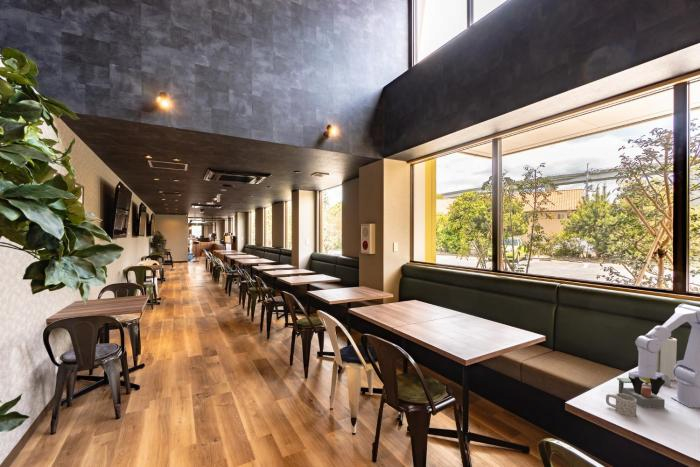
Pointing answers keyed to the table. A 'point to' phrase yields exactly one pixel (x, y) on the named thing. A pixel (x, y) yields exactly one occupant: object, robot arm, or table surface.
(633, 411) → the mug
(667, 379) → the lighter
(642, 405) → the socket block
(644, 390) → the peg
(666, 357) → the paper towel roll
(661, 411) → the table surface
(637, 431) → the table surface
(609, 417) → the table surface
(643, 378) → the lemon
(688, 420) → the table surface
